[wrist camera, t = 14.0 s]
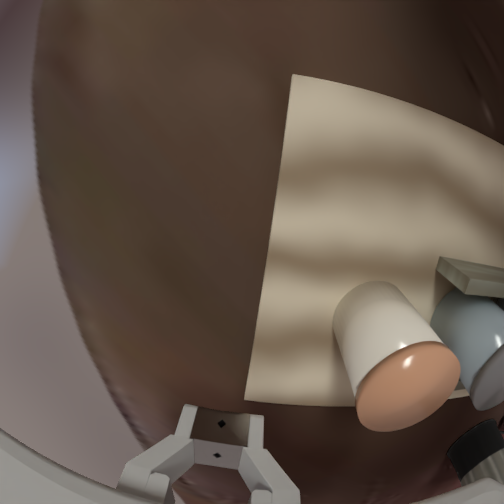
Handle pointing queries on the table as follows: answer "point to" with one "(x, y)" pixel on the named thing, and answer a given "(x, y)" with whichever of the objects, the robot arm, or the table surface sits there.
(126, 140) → the table surface
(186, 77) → the table surface
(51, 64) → the table surface
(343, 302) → the jar
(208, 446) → the robot arm
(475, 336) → the jar
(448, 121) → the cream rippled cloth
